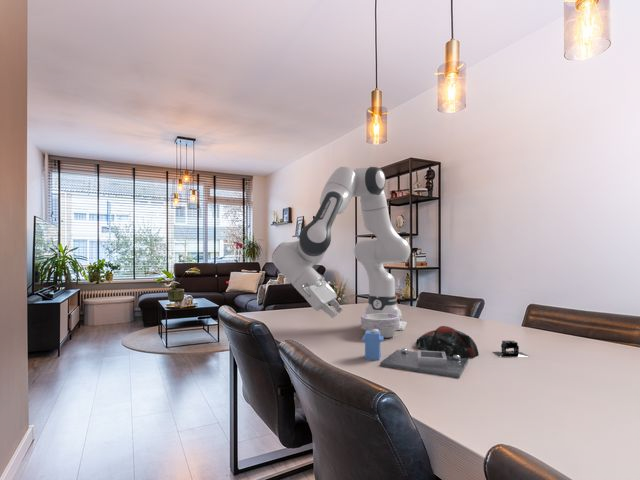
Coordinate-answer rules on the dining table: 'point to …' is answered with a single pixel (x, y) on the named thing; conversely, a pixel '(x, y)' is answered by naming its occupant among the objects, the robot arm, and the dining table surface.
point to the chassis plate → (412, 364)
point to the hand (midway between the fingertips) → (338, 313)
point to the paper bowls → (381, 323)
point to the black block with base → (514, 353)
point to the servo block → (372, 344)
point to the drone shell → (448, 342)
